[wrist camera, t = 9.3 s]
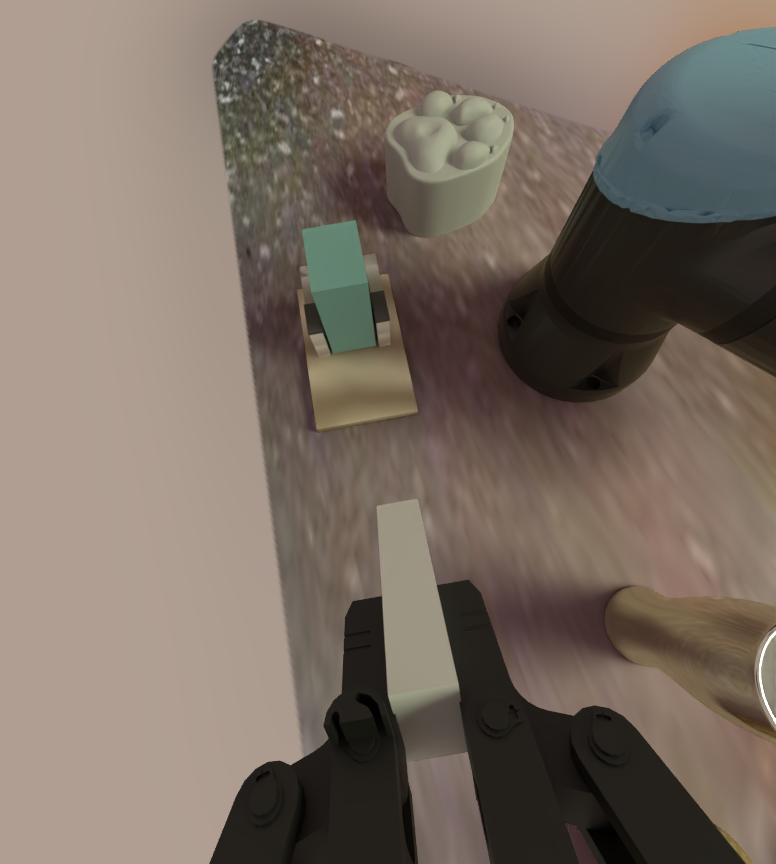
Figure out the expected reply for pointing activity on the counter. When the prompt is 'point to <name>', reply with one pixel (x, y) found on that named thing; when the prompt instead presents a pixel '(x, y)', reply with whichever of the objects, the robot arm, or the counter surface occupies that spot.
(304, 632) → the counter surface
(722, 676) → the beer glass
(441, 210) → the lumpy-topped squat cylinder
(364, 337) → the teal block
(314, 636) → the counter surface
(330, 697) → the counter surface
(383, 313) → the guide channel
